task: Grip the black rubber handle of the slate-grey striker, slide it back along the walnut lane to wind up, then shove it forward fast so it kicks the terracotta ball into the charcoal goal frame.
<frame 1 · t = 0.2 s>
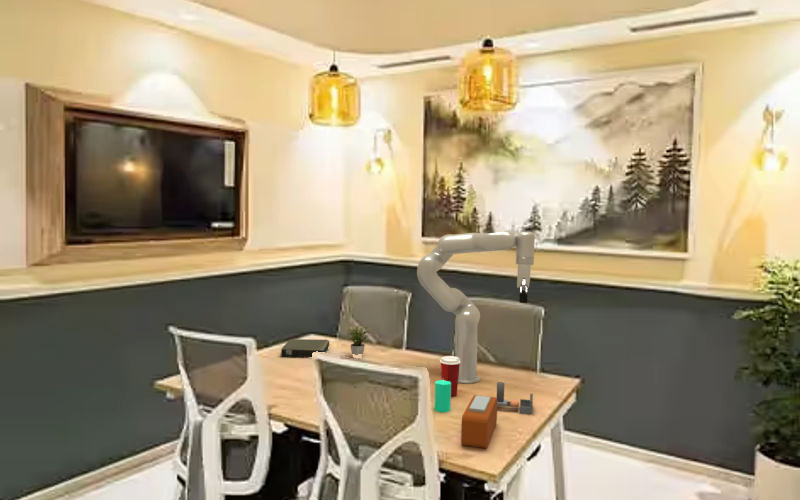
hand: (523, 300, 257), 36 cm above the table, tool pointing down, fingers open, 9 cm apart
network switch: (305, 353, 307), on the table
striker: (500, 395, 231), point 5 cm above the table, slide at 0.0 cm
goal: (526, 409, 229), on the table
candle: (442, 409, 228), on the table
ball: (514, 404, 230), point 2 cm above the table
house plant: (358, 358, 298), on the table
lane: (497, 407, 231), on the table
coffee cup: (449, 394, 245), on the table
alarm clock: (479, 435, 205), on the table
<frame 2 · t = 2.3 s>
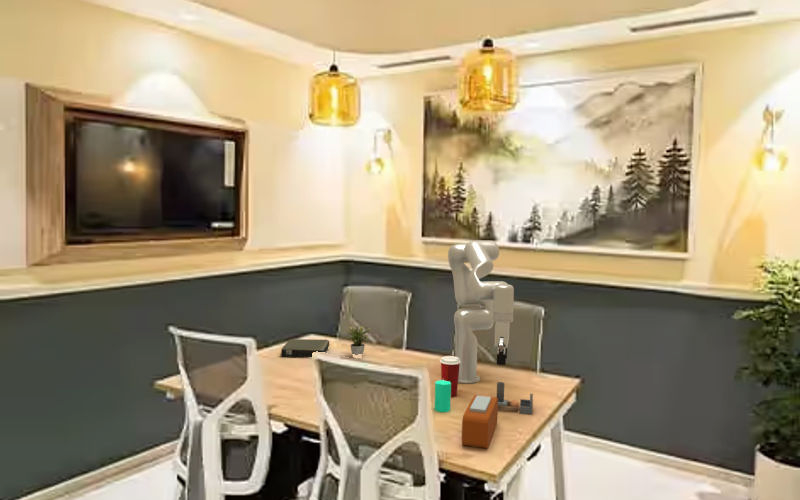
hand: (501, 361, 229), 18 cm above the table, tool pointing down, fingers open, 9 cm apart
nothing on the table moved.
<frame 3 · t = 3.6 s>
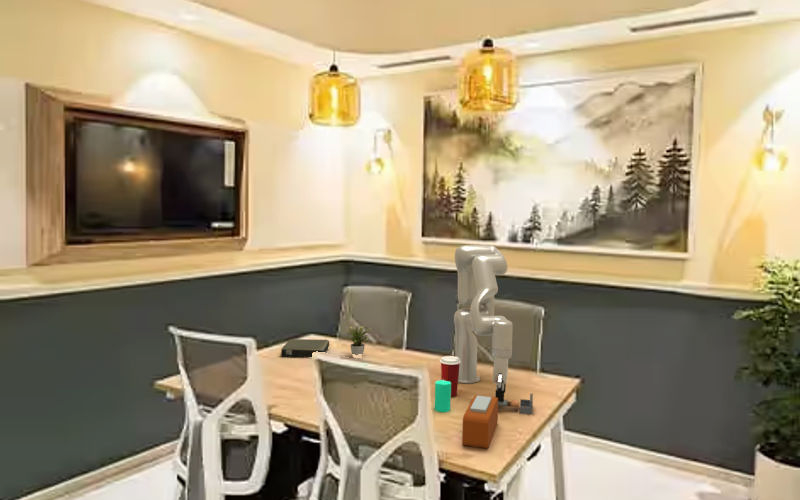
hand: (500, 396, 231), 4 cm above the table, tool pointing down, fingers open, 9 cm apart
nothing on the table moved.
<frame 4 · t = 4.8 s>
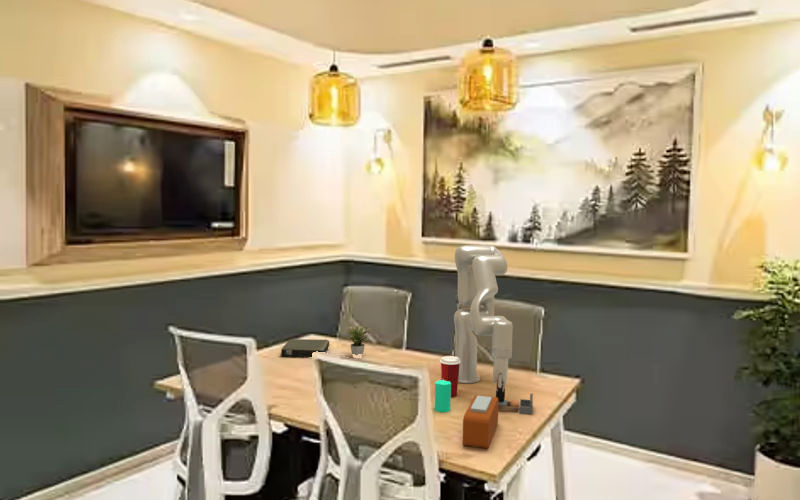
hand: (500, 399, 231), 3 cm above the table, tool pointing down, fingers closed on striker, 2 cm apart
striker: (500, 395, 231), point 5 cm above the table, slide at 0.0 cm, touching gripper
everything else where it was.
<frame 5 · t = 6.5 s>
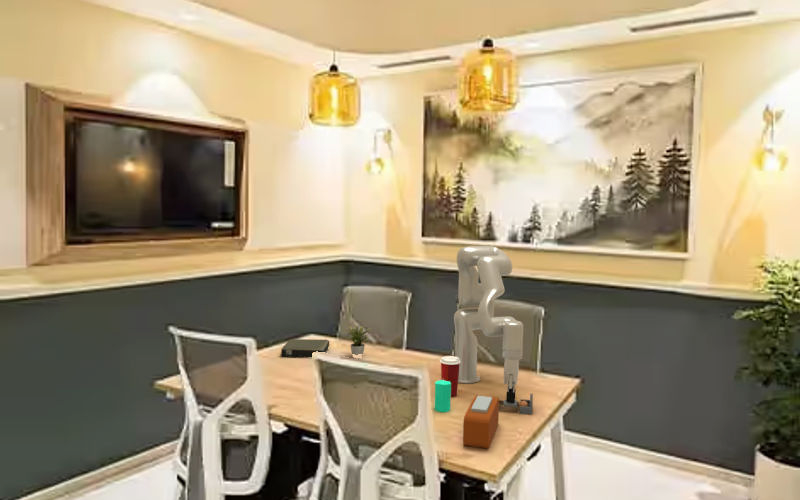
hand: (510, 400, 230), 3 cm above the table, tool pointing down, fingers closed on striker, 2 cm apart
striker: (510, 396, 230), point 5 cm above the table, slide at 3.9 cm, touching gripper
ball: (523, 405, 229), point 2 cm above the table, tilted 86°
everything else where it was.
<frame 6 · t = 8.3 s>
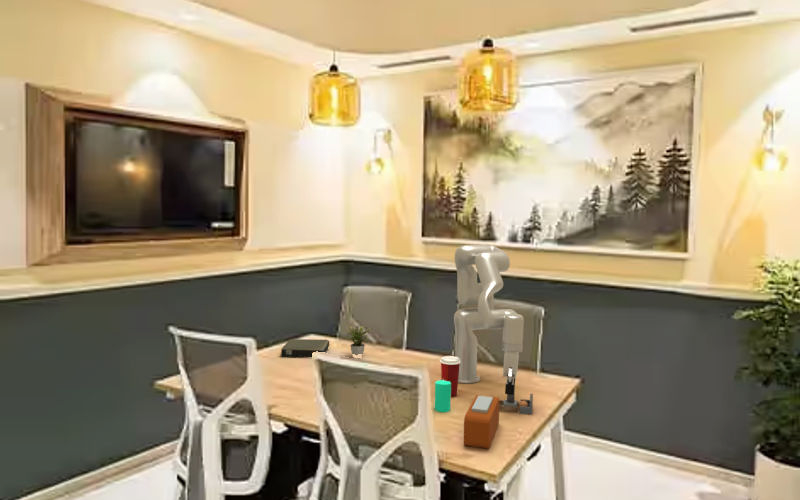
hand: (510, 390, 230), 7 cm above the table, tool pointing down, fingers open, 9 cm apart
striker: (510, 396, 230), point 5 cm above the table, slide at 3.9 cm
everything else where it was.
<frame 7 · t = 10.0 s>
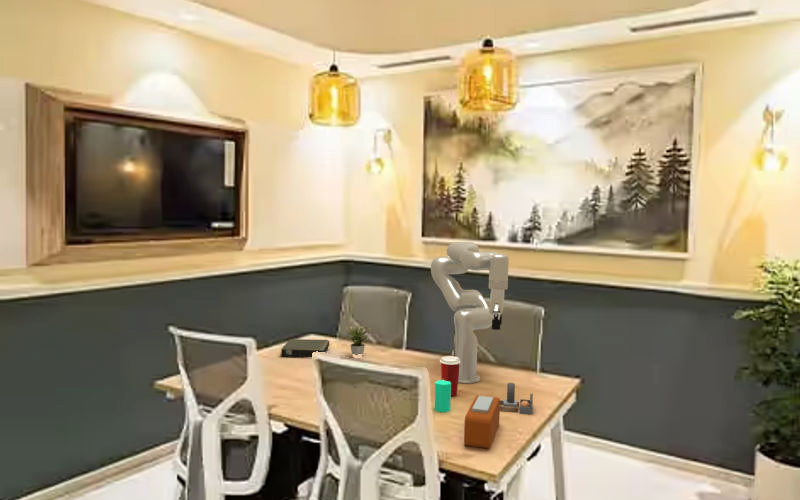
hand: (496, 326, 243), 28 cm above the table, tool pointing down, fingers open, 9 cm apart
ball: (525, 405, 229), point 2 cm above the table, tilted 106°
everything else where it was.
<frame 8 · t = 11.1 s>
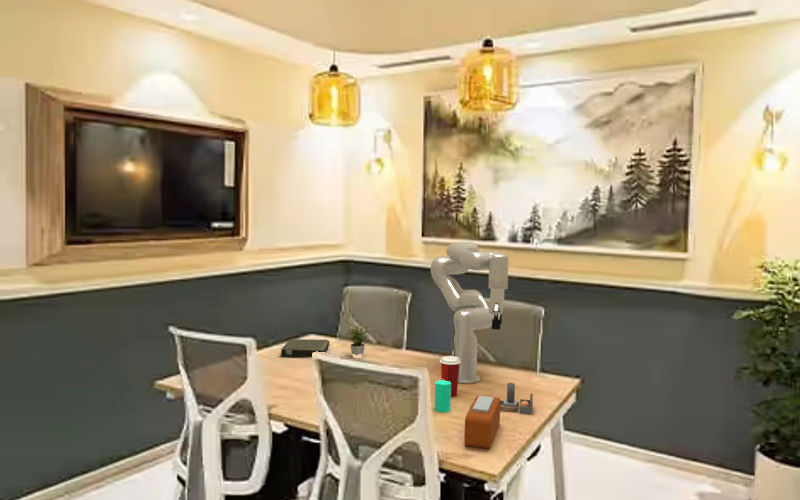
hand: (496, 326, 243), 28 cm above the table, tool pointing down, fingers open, 9 cm apart
at the end: ball 0.4 cm from the target spot, point 1.7 cm above the table; striker slide at 3.9 cm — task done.
